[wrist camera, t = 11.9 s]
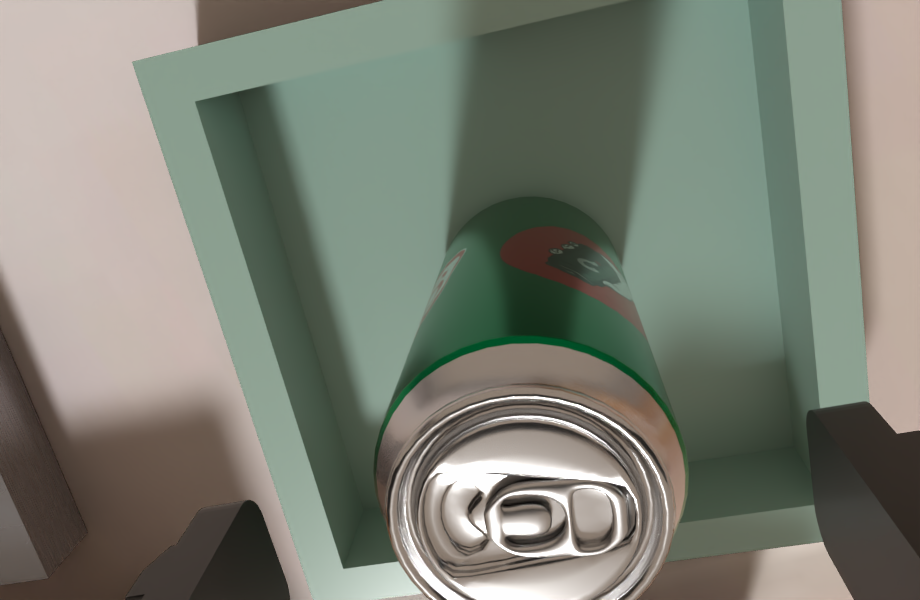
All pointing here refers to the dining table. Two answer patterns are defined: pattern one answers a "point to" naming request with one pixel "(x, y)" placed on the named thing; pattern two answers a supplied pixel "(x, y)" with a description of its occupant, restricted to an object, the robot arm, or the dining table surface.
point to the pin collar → (30, 488)
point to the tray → (526, 175)
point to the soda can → (531, 421)
